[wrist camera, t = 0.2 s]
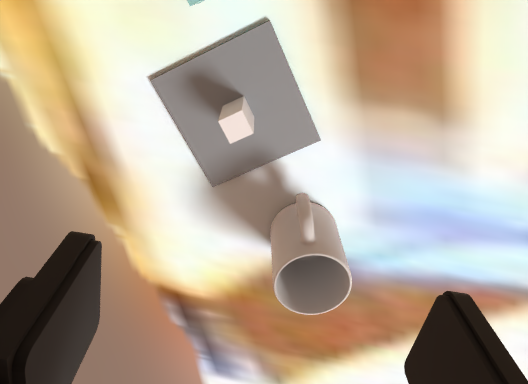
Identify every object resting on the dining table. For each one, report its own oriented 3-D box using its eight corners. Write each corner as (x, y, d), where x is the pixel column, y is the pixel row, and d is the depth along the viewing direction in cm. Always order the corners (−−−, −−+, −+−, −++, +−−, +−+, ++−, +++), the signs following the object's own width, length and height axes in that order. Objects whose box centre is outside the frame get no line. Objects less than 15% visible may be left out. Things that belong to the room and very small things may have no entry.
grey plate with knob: (151, 79, 44) (136, 93, 39) (269, 20, 42) (271, 25, 36) (213, 185, 50) (207, 209, 45) (320, 138, 48) (327, 159, 42)
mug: (337, 253, 55) (354, 312, 45) (273, 259, 55) (276, 319, 46) (333, 172, 50) (351, 218, 40) (263, 179, 50) (263, 228, 40)
